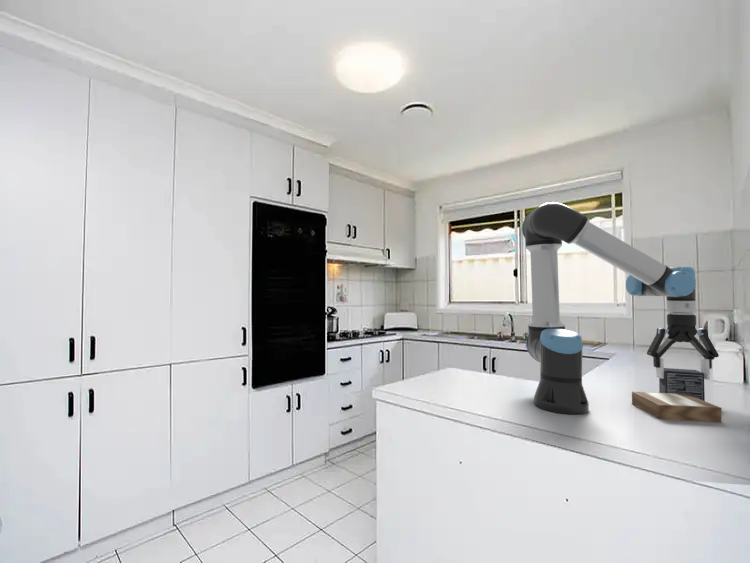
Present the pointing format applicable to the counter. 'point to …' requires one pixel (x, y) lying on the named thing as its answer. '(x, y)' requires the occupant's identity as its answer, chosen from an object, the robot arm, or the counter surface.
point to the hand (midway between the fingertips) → (682, 378)
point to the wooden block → (676, 407)
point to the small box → (683, 382)
